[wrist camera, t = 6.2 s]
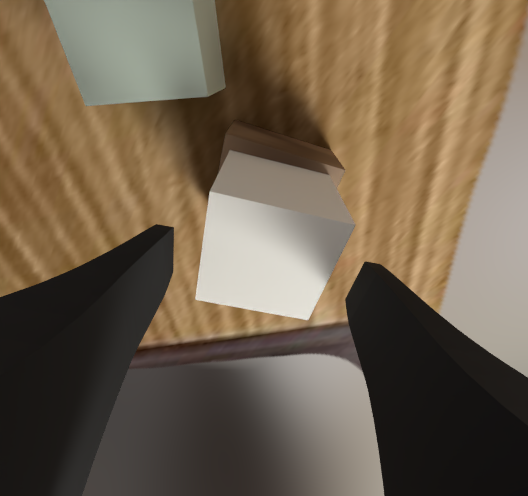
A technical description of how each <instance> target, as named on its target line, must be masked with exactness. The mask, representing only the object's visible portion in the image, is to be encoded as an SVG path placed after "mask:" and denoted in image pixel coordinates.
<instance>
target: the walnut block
mask: <svg viewBox="0 0 528 496" xmlns="http://www.w3.org/2000/svg"><path fill="white" fill-rule="evenodd" d="M230 150H232V151H236V152H240V153H244V154H248V155H252V156H256V157H259V158H263V159H267V160H271V161H275V162H279V163H283V164H287V165H291V166H295V167H299V168H303V169H307V170H311V171H315V172H319V173H323V174H327V175H330V177H331V179H332V181H333V183H334V185H335V187H336V189H337V187H338V185H339V183H340V181H341V179H342V177H343V175H344V173H345V169H344V167H343V166H342V165H341V163H340V162H339V160H338V159H337V158H336V156H335V155H334V153H333V152H332V151H331V150H329V149H326V148H323V147H320V146H317V145H313V144H310V143H307V142H304V141H301V140H298V139H295V138H291V137H288V136H285V135H282V134H279V133H276V132H272V131H269V130H266V129H263V128H260V127H257V126H253V125H250V124H247V123H244V122H241V121H238V120H234V121H233V123H232V124H231V126H230V127H229V129H228V130H227V132H226V133H225V139H224V144H223V149H222V154H221V159H220V164H219V169H218V173H219V171H220V169H221V167H222V165H223V163H224V161H225V159H226V157H227V155H228V153H229V151H230Z"/></svg>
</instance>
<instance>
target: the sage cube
mask: <svg viewBox="0 0 528 496" xmlns="http://www.w3.org/2000/svg"><path fill="white" fill-rule="evenodd" d="M44 1H45V4H46V6H47V9H48V11H49V14H50V16H51V19H52V21H53V24H54V26H55V29H56V32H57V34H58V37H59V39H60V42H61V44H62V47H63V49H64V52H65V54H66V57H67V60H68V62H69V65H70V67H71V70H72V72H73V75H74V77H75V80H76V82H77V85H78V87H79V90H80V93H81V95H82V98H83V100H84V103H85V105H86V106H92V105H105V104H119V103H132V102H145V101H158V100H171V99H184V98H197V97H208V96H210V95H212V94H214V93H216V92H218V91H220V90H222V89H224V88H226V85H225V77H224V69H223V61H222V54H221V46H220V38H219V30H218V22H217V14H216V6H215V0H44Z"/></svg>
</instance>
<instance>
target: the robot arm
mask: <svg viewBox="0 0 528 496" xmlns="http://www.w3.org/2000/svg"><path fill="white" fill-rule="evenodd" d="M173 247H174V227H169V226H163V225H157V224H156V225H154V226H152V227H150V228H149V229H147V230H145V231H144V232H142V233H140V234H139V235H137V236H135V237H133V238H132V239H130V240H128V241H126V242H125V243H123V244H121V245H119V246H118V247H116V248H114V249H112V250H111V251H109V252H107V253H105V254H103V255H101V256H99V257H97V258H95V259H93V260H91V261H89V262H87V263H85V264H83V265H81V266H79V267H77V268H75V269H73V270H70V271H68V272H66V273H64V274H61V275H59V276H56V277H54V278H51V279H49V280H47V281H44V282H42V283H39V284H37V285H34V286H31V287H28V288H25V289H23V290H20V291H17V292H14V293H11V294H8V295H5V296H3V297H0V496H82V494H83V491H84V488H85V485H86V482H87V478H88V476H89V473H90V470H91V467H92V464H93V461H94V458H95V455H96V453H97V450H98V447H99V444H100V442H101V438H102V436H103V433H104V431H105V428H106V425H107V422H108V420H109V417H110V414H111V411H112V409H113V406H114V404H115V401H116V398H117V396H118V393H119V391H120V388H121V385H122V383H123V380H124V378H125V375H126V373H127V370H128V368H129V365H130V363H131V361H132V358H133V356H134V354H135V352H136V350H137V348H138V346H139V344H140V342H141V340H142V338H143V336H144V334H145V332H146V330H147V328H148V327H149V325H150V323H151V321H152V319H153V317H154V315H155V313H156V311H157V309H158V307H159V305H160V303H161V301H162V299H163V297H164V295H165V293H166V290H167V288H168V285H169V282H170V279H171V276H172V273H173ZM345 301H346V309H347V316H348V322H349V326H350V330H351V333H352V337H353V340H354V343H355V347H356V350H357V353H358V357H359V360H360V363H361V367H362V370H363V373H364V377H365V380H366V384H367V388H368V392H369V397H370V402H371V408H372V413H373V417H374V424H375V430H376V435H377V442H378V448H379V455H380V463H381V471H382V478H383V486H384V495H385V496H528V378H527V377H526V376H524V375H523V374H521V373H520V372H518V371H517V370H515V369H513V368H512V367H510V366H509V365H507V364H506V363H504V362H503V361H501V360H500V359H498V358H497V357H495V356H494V355H492V354H491V353H489V352H488V351H486V350H485V349H484V348H482V347H481V346H480V345H478V344H477V343H475V342H474V341H473V340H471V339H470V338H468V337H467V336H466V335H464V334H463V333H462V332H460V331H459V330H458V329H457V328H455V327H454V326H453V325H452V324H450V323H449V322H448V321H447V320H445V319H444V318H443V317H442V316H440V315H439V314H438V313H437V312H436V311H434V310H433V309H432V308H431V307H430V306H429V305H427V304H426V303H425V302H424V301H423V300H422V299H421V298H419V297H418V296H417V295H416V294H415V293H414V292H413V291H411V290H410V289H409V288H408V287H407V286H406V285H405V284H404V283H402V282H401V281H400V280H399V279H398V278H397V277H396V276H394V275H393V274H392V273H391V272H390V271H388V270H387V269H386V268H385V267H383V266H382V265H380V264H376V263H371V262H364V264H363V266H362V268H361V270H360V272H359V274H358V276H357V278H356V280H355V282H354V284H353V285H352V287H351V289H350V291H349V293H348V295H347V297H346V299H345Z"/></svg>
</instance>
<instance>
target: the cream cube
mask: <svg viewBox="0 0 528 496" xmlns="http://www.w3.org/2000/svg"><path fill="white" fill-rule="evenodd" d="M354 227H355V223H354V221H353V219H352V217H351V215H350V213H349V212H348V210H347V208H346V206H345V204H344V202H343V200H342V198H341V196H340V194H339V192H338V190H337V189H336V187H335V185H334V183H333V181H332V179H331V177H330V175H327V174H323V173H319V172H315V171H311V170H307V169H303V168H299V167H295V166H291V165H287V164H283V163H279V162H275V161H271V160H267V159H263V158H259V157H256V156H252V155H248V154H244V153H240V152H236V151H232V150H230V151H229V153H228V155H227V157H226V159H225V161H224V163H223V165H222V167H221V169H220V171H219V173H218V175H217V177H216V179H215V181H214V184H213V186H212V188H211V190H210V193H209V200H208V208H207V215H206V223H205V230H204V238H203V245H202V253H201V261H200V268H199V276H198V283H197V291H196V298H195V300H200V301H206V302H211V303H217V304H222V305H228V306H233V307H238V308H244V309H249V310H255V311H260V312H266V313H271V314H277V315H282V316H287V317H293V318H298V319H304V320H308V319H309V317H310V315H311V313H312V311H313V309H314V307H315V305H316V303H317V301H318V299H319V297H320V295H321V293H322V291H323V289H324V287H325V285H326V283H327V281H328V279H329V277H330V275H331V273H332V271H333V269H334V267H335V265H336V263H337V261H338V259H339V257H340V255H341V253H342V251H343V249H344V247H345V245H346V243H347V241H348V239H349V237H350V235H351V233H352V231H353V229H354Z"/></svg>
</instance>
